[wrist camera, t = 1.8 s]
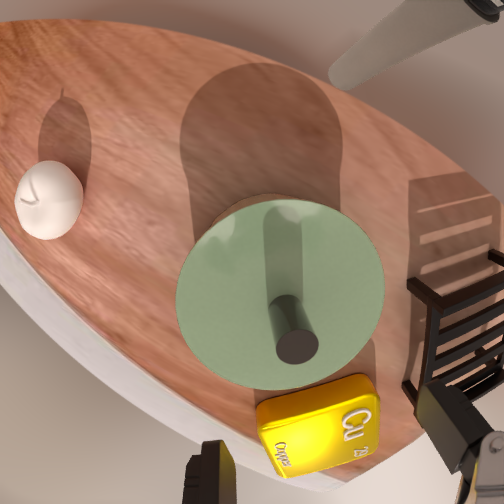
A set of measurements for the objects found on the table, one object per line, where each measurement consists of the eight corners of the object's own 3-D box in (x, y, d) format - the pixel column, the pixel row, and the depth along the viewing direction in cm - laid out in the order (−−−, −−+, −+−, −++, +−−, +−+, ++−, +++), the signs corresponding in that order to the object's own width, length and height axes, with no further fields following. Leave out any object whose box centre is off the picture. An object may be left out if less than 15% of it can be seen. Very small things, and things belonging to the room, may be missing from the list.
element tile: (251, 401, 34) (253, 429, 29) (368, 367, 33) (382, 391, 29) (277, 459, 38) (280, 483, 33) (370, 432, 37) (379, 454, 33)
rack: (403, 277, 30) (444, 309, 22) (495, 245, 29) (536, 264, 22) (398, 390, 35) (422, 428, 27) (480, 352, 35) (508, 379, 27)
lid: (150, 227, 19) (120, 252, 14) (367, 177, 19) (411, 185, 13) (212, 395, 23) (208, 445, 18) (380, 354, 23) (408, 395, 18)
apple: (96, 156, 25) (50, 158, 17) (97, 229, 27) (55, 253, 19) (41, 162, 24) (-9, 167, 16) (44, 228, 26) (-2, 250, 18)
